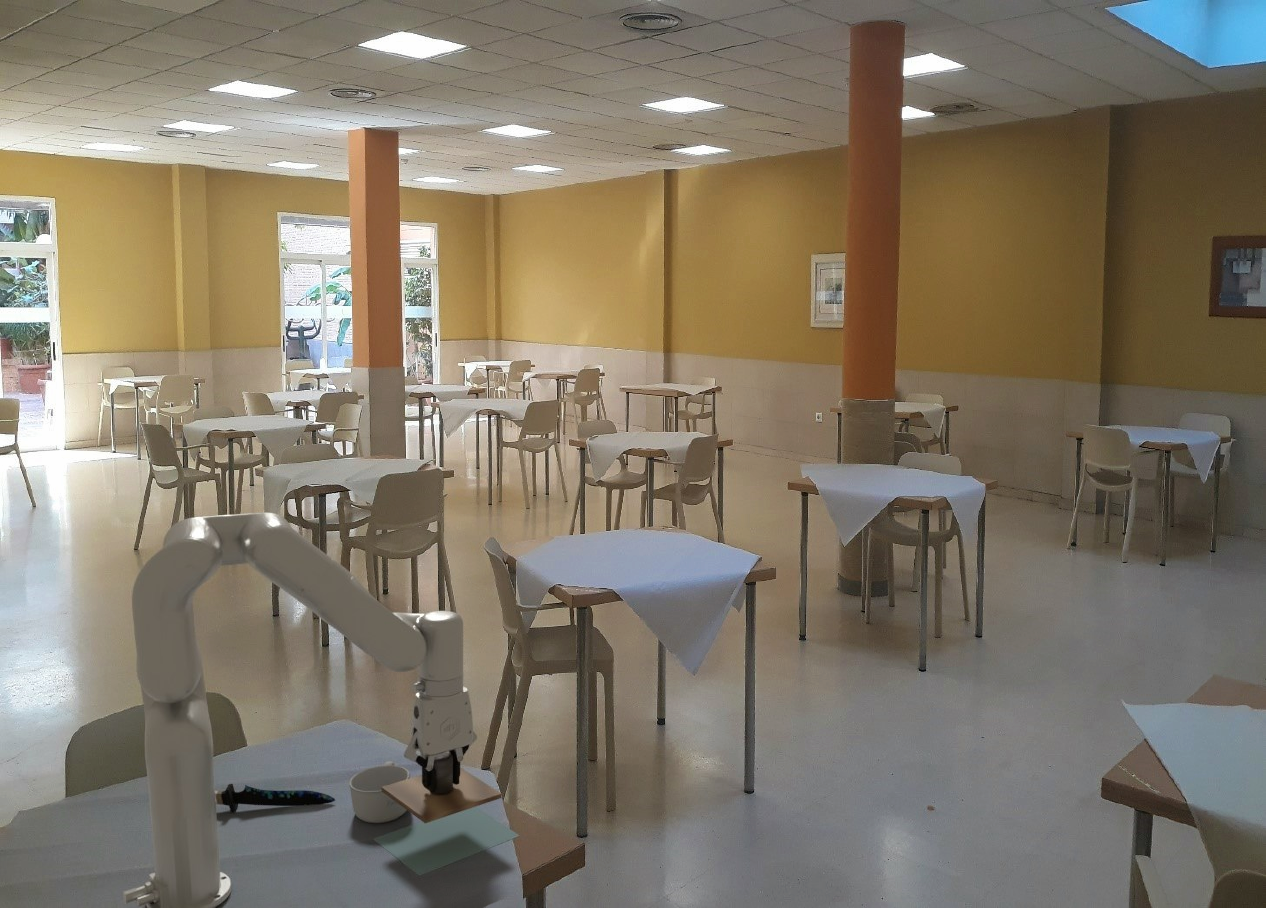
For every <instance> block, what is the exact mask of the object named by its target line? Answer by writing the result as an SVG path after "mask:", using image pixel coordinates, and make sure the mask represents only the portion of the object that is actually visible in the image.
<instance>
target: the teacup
mask: <svg viewBox="0 0 1266 908" xmlns="http://www.w3.org/2000/svg"><path fill="white" fill-rule="evenodd" d="M410 776H411V774H410V771H409V770H408V769H407V768H406V767H404V766H401V765H396V764H395V762H394V761H386V762H385V763H384V764H383V765H377V766H373V767H368V768H366V769H363V770H360V771H359V772H358V773H356V774H354V775H353V776H351V778H350V779H349V782H348V786H349V788H350V790H349V791H350V796H351V804H352V809H353V812H354V815H355V816H356V817H357V818H358V819H359V820H361V821H363V822H366V823H368V824H369V823H370V824H381V823H382V824H383V823H388V822H392V821H394V820H397V819H398V818H400V817H401V816H403V815H404V813H406V812H407V810H406V809H405V808H404V807H402V806H401V805H399V804H398V803H397V802H395V801H394V800H393V799H391V798H390V797H389V796H387V795H386V794H385V793H383V792H382V787H383V786H386V785H390V784H393V783H396V782H400V781H403V780H406V779H410V778H411V777H410Z"/></svg>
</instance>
